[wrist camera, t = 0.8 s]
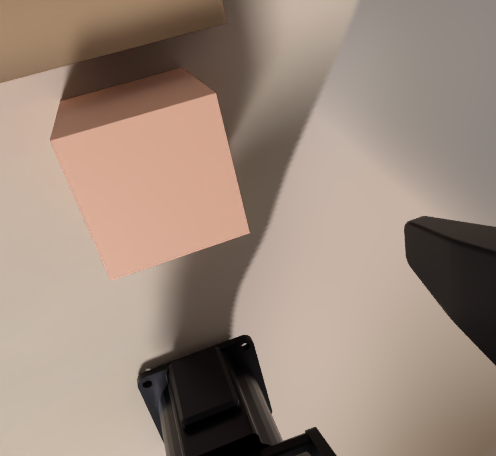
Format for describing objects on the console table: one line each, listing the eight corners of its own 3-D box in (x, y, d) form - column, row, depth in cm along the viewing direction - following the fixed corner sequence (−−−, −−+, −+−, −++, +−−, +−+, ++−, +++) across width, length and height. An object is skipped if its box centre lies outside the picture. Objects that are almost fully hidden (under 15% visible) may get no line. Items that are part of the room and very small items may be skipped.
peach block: (211, 177, 22) (249, 233, 17) (105, 211, 21) (110, 280, 16) (181, 67, 19) (215, 92, 14) (60, 100, 19) (50, 140, 14)
